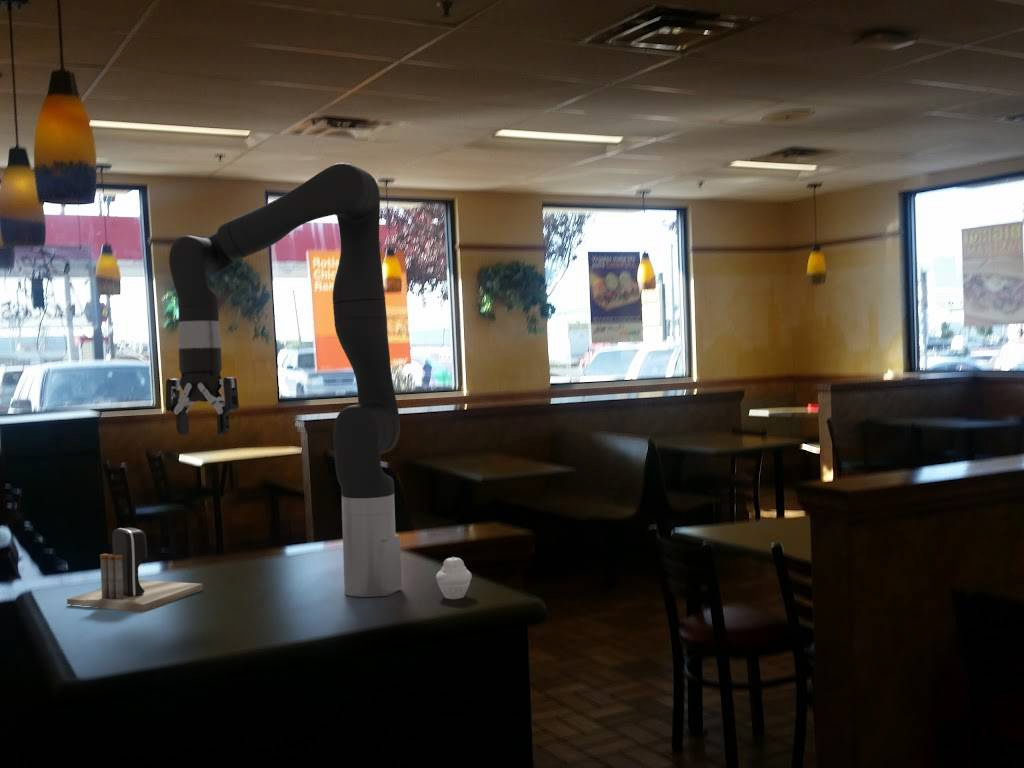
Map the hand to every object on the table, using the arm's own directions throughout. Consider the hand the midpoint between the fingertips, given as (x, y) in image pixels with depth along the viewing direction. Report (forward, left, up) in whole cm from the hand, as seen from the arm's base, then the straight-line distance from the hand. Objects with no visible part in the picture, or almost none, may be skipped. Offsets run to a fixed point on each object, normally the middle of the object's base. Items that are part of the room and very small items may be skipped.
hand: (202, 434), depth 191 cm
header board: (+7, +11, -28) cm, 31 cm away
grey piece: (-48, -3, -28) cm, 56 cm away
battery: (+7, +12, -27) cm, 31 cm away
